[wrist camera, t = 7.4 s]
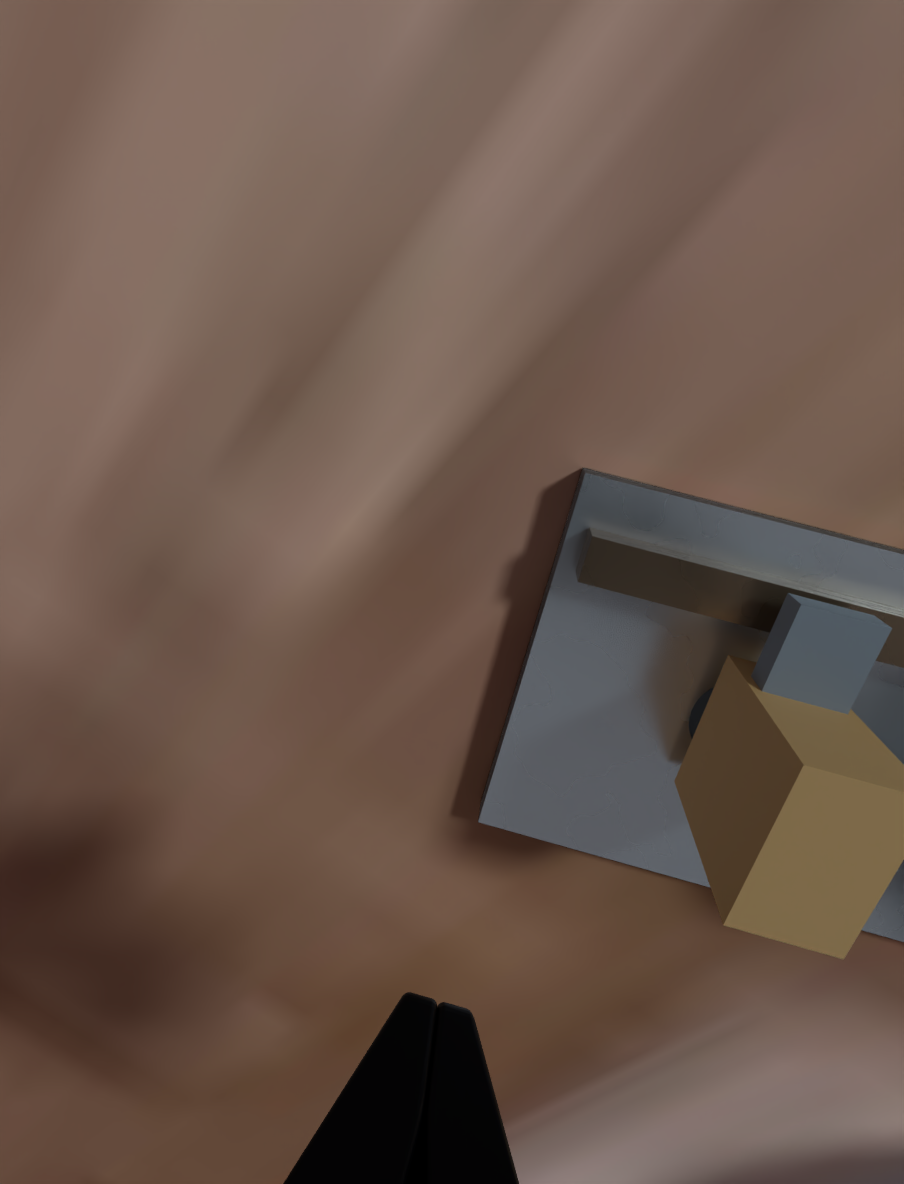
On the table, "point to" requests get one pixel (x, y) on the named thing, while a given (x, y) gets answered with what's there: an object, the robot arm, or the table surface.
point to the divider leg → (796, 783)
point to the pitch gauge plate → (667, 665)
